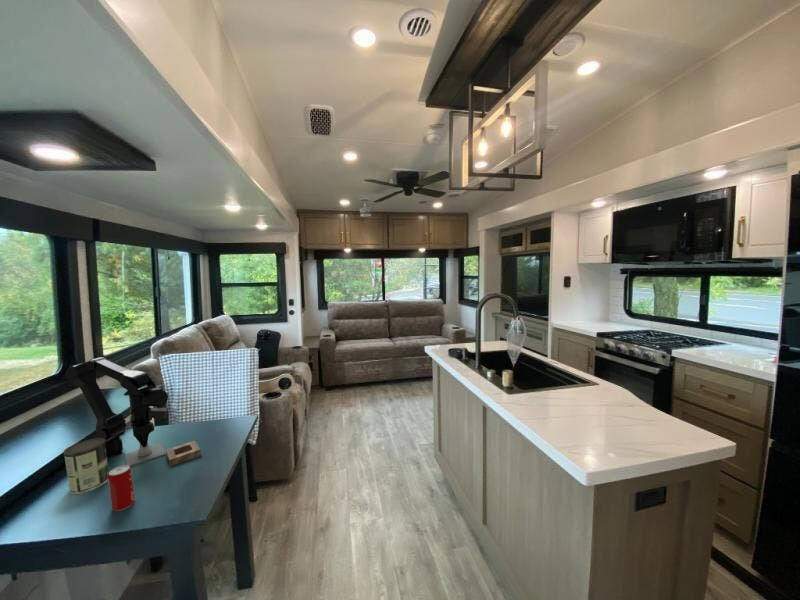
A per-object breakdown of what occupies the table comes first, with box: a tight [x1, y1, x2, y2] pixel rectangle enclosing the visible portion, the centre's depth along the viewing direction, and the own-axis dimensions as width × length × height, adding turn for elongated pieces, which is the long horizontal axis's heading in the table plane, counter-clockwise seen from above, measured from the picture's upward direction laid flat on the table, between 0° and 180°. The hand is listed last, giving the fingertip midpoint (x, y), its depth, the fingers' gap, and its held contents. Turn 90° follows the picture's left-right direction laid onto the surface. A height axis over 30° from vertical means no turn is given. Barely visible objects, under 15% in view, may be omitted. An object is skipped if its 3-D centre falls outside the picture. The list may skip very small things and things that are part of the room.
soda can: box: [107, 464, 136, 512], centre depth 101 cm, size 6×6×12 cm
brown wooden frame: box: [165, 440, 202, 467], centre depth 129 cm, size 10×10×2 cm
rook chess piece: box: [138, 442, 152, 457], centre depth 130 cm, size 4×4×8 cm
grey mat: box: [124, 442, 166, 468], centre depth 130 cm, size 12×12×1 cm
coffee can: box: [62, 438, 110, 495], centre depth 112 cm, size 10×10×14 cm
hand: (143, 443), depth 130 cm, fingers open, 8 cm apart
